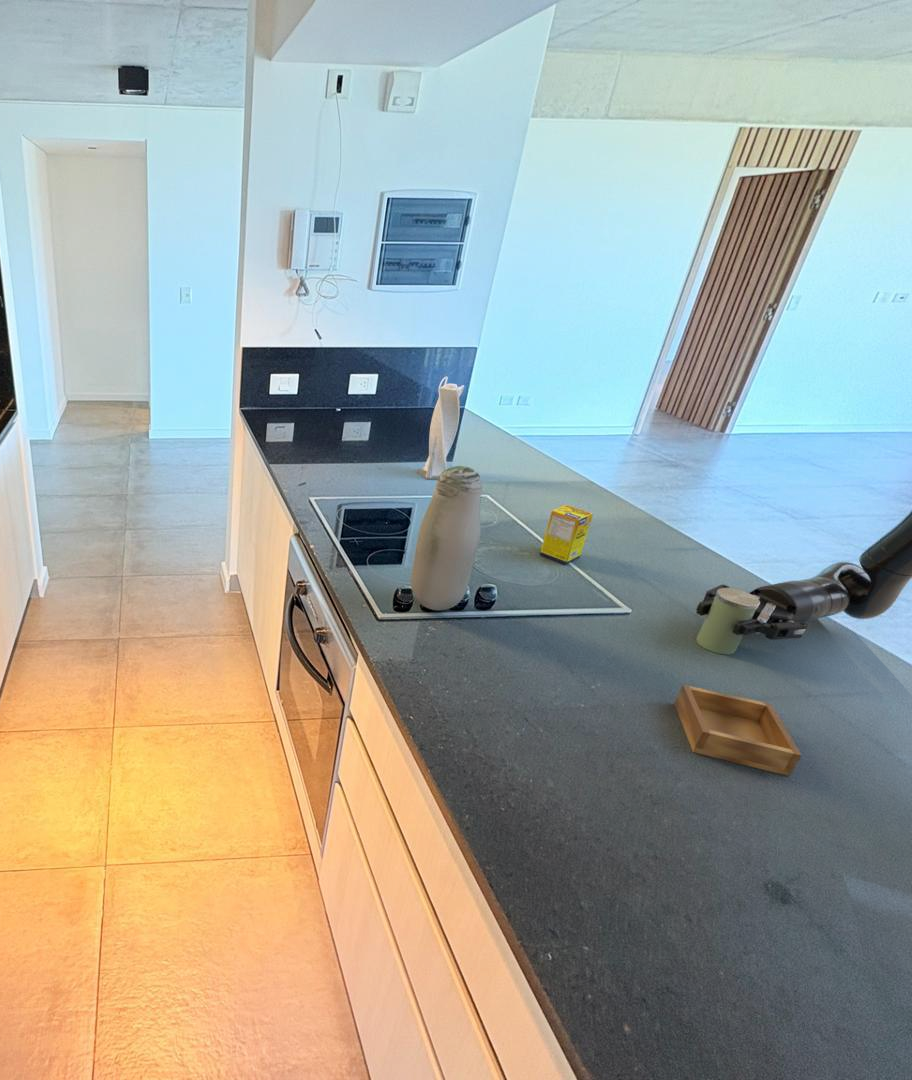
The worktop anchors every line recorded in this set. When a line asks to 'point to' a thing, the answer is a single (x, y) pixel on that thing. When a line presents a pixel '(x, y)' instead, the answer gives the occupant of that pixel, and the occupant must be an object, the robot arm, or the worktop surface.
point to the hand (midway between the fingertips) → (717, 618)
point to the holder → (736, 730)
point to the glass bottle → (448, 540)
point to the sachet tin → (726, 620)
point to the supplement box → (566, 534)
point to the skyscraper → (442, 429)
